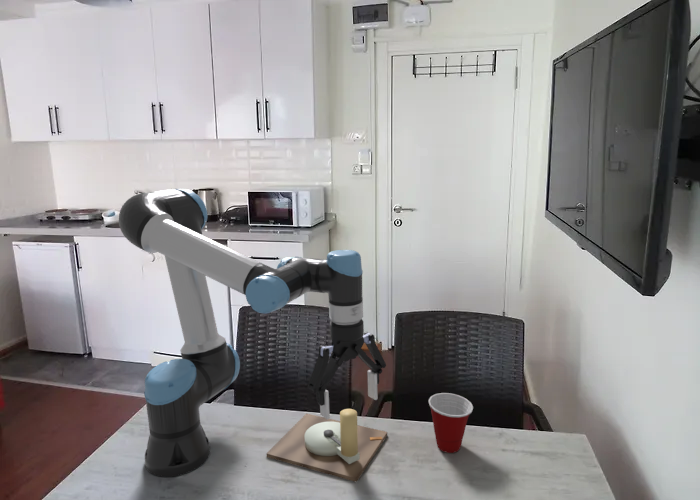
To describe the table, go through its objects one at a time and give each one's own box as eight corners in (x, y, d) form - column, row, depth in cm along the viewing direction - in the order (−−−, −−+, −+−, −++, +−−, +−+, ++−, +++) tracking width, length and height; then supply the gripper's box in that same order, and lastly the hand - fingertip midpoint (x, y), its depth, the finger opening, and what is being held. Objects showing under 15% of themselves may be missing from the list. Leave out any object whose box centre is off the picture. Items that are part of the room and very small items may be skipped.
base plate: (266, 457, 124) (266, 452, 123) (306, 416, 141) (306, 412, 141) (356, 482, 114) (356, 477, 114) (387, 435, 132) (387, 431, 131)
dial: (296, 439, 129) (294, 395, 126) (335, 423, 135) (333, 382, 133) (333, 473, 115) (331, 425, 113) (374, 453, 122) (374, 408, 119)
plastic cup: (472, 461, 120) (474, 416, 118) (426, 457, 122) (427, 411, 120) (471, 436, 130) (472, 393, 128) (428, 432, 133) (429, 390, 130)
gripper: (307, 338, 103) (312, 432, 107) (399, 311, 117) (401, 396, 121) (289, 328, 109) (294, 418, 113) (379, 304, 123) (381, 384, 127)
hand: (349, 406), depth 117 cm, fingers open, 13 cm apart
